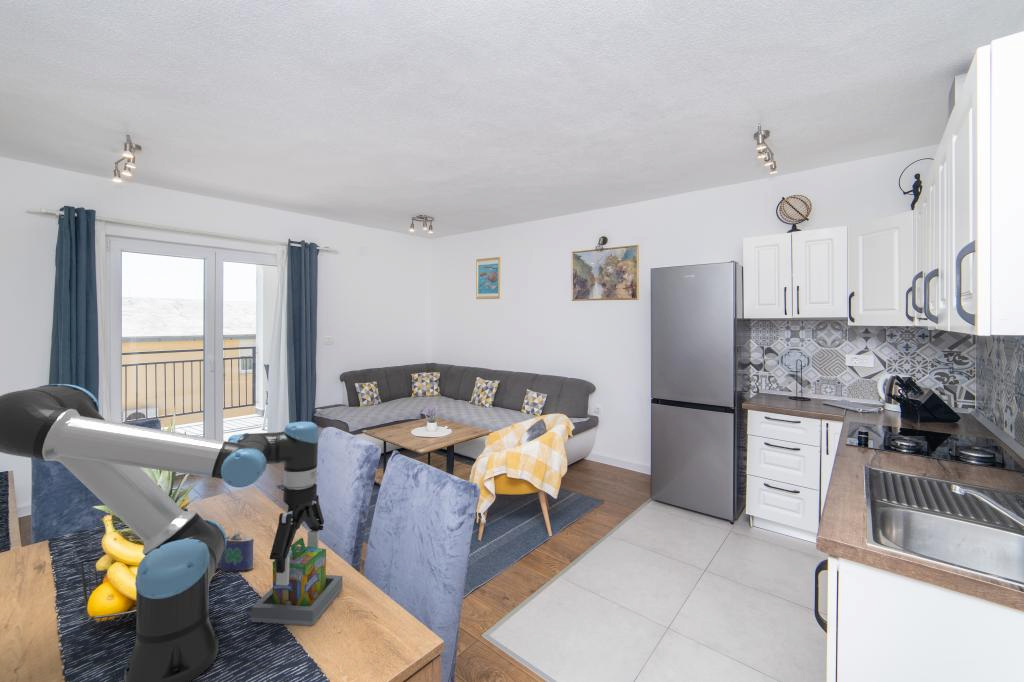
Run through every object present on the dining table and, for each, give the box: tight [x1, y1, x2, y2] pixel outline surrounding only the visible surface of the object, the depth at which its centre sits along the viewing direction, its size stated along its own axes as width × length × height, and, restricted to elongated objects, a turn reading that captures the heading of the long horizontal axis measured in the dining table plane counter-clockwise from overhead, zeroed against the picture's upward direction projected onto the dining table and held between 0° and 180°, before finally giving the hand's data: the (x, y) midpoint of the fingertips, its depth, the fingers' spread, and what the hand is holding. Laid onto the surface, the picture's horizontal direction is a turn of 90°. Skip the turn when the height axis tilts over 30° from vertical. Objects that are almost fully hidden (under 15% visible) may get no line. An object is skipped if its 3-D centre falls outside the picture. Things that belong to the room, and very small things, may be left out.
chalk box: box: [272, 537, 327, 607], centre depth 110 cm, size 9×9×15 cm
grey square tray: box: [250, 574, 343, 627], centre depth 110 cm, size 15×15×4 cm
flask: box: [220, 531, 254, 573], centre depth 126 cm, size 9×3×11 cm, turn 87°
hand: (298, 569), depth 110 cm, fingers open, 13 cm apart
